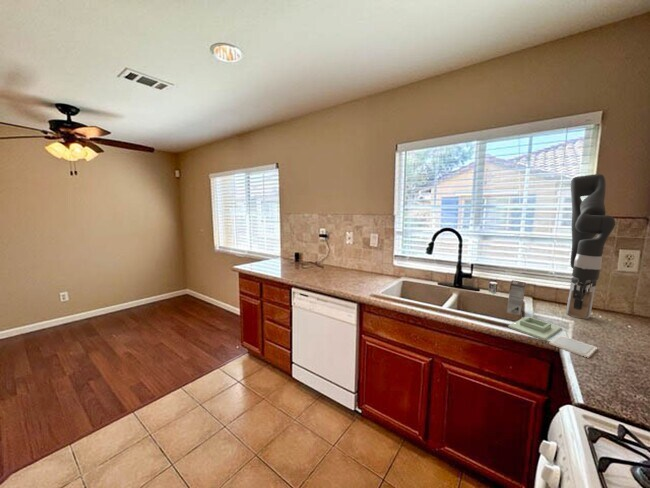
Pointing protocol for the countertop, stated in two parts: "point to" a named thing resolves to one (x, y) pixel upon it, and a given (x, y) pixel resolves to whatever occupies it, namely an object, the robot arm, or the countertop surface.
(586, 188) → the robot arm
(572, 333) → the countertop surface
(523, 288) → the grey coffee bag
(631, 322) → the countertop surface
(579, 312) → the walnut block
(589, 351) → the plate
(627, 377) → the countertop surface
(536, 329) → the pocket board
